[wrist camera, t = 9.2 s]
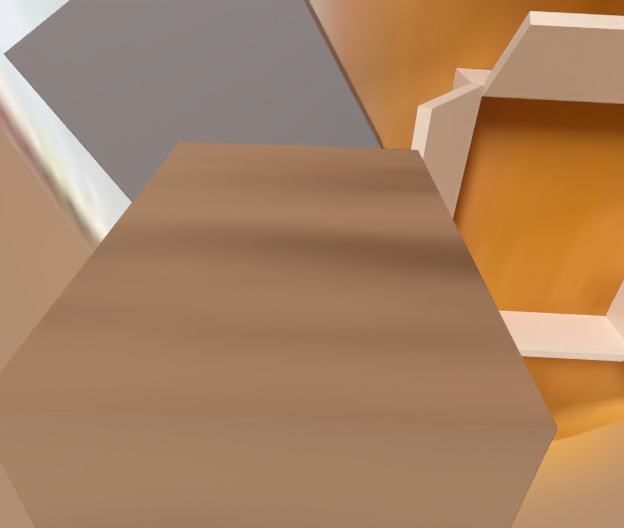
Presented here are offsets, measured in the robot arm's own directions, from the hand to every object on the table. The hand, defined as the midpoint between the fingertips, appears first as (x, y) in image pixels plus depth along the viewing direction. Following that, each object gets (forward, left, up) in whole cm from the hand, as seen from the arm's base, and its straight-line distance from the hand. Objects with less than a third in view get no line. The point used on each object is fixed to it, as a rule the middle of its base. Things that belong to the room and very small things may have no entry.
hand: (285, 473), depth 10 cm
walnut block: (0, 0, -4) cm, 4 cm away
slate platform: (+4, -5, -22) cm, 23 cm away
